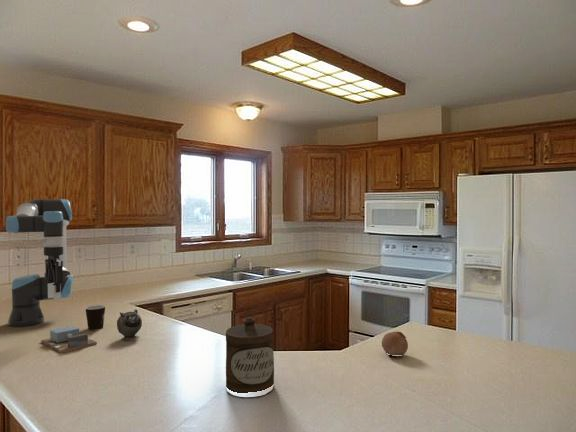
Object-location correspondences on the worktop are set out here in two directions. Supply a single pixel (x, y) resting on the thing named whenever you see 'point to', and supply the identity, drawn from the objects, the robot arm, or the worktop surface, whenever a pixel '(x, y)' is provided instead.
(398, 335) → the brown round lump
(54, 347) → the base
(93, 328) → the coffee mug
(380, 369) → the worktop surface
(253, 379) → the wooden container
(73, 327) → the block
